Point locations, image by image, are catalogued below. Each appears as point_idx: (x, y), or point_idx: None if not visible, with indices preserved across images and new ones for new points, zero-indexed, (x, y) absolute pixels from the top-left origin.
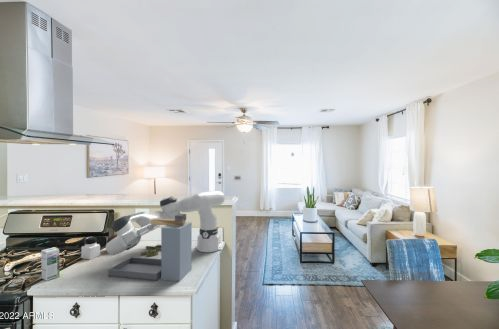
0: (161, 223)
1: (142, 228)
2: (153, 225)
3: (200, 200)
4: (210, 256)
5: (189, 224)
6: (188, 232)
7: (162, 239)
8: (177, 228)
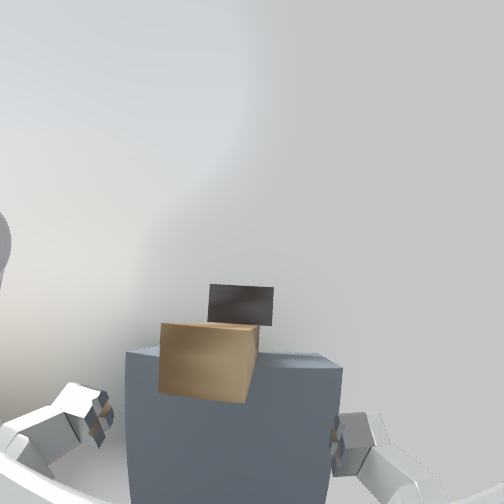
0: (253, 361)
1: (398, 449)
2: (40, 447)
3: (9, 240)
4: None
5: None
6: None
7: None
8: (314, 354)
